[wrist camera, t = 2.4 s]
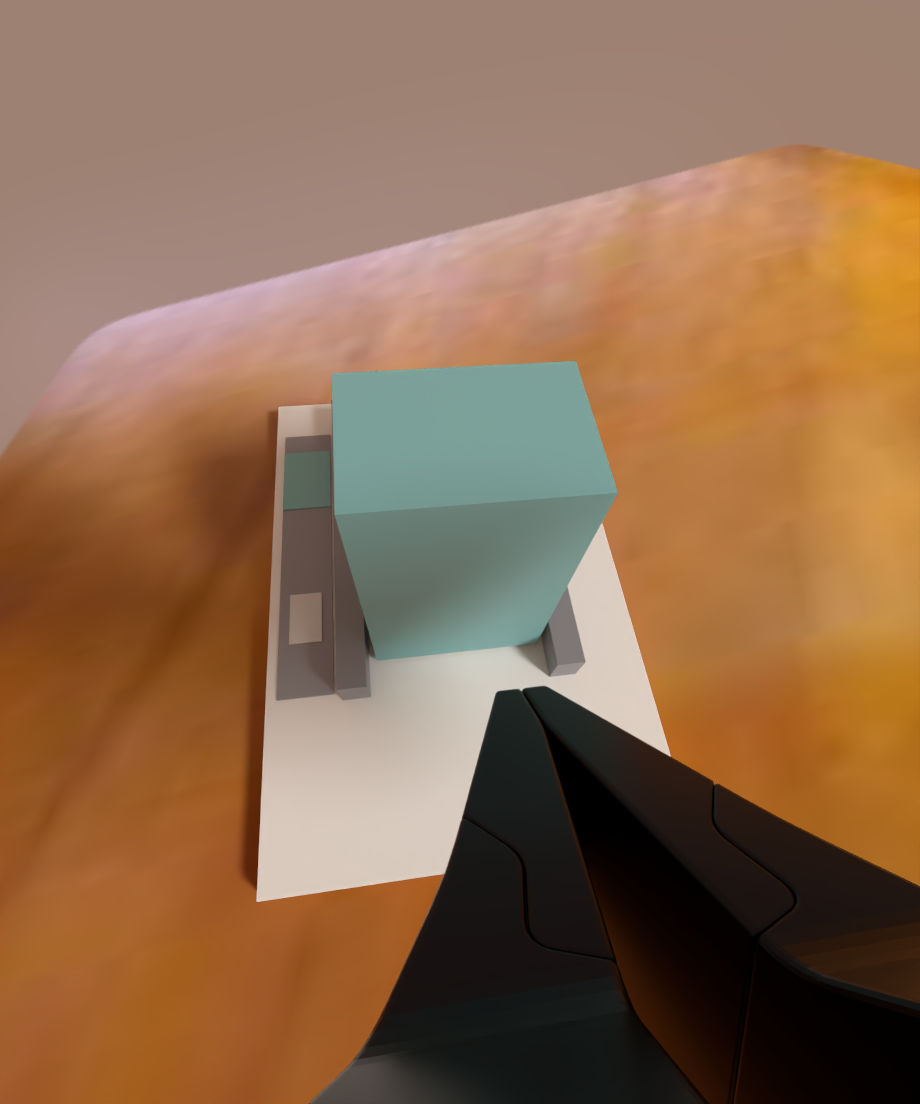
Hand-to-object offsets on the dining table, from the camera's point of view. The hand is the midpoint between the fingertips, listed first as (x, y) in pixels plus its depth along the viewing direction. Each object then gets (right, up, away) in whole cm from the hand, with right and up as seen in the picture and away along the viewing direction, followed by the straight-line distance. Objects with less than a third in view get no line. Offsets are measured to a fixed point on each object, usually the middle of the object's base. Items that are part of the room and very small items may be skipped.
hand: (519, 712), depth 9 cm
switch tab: (-1, +1, +12) cm, 12 cm away
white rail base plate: (-2, +1, +14) cm, 14 cm away
